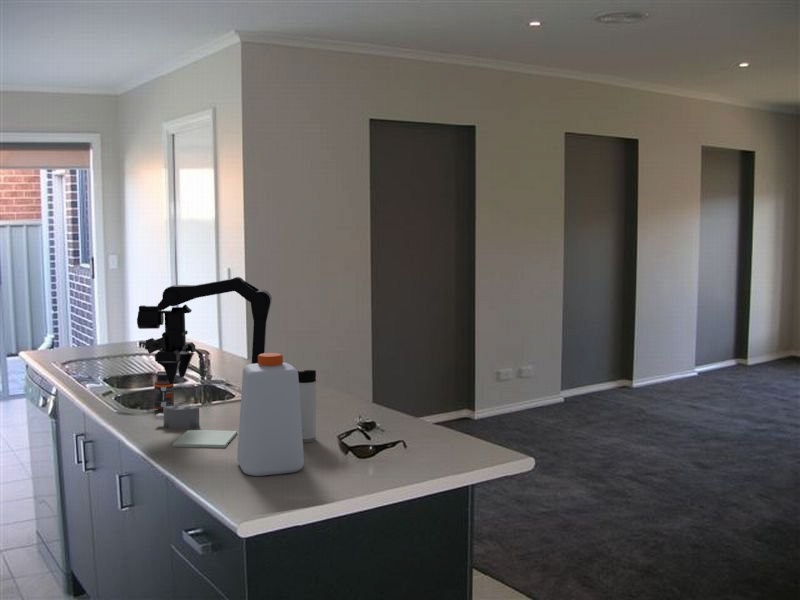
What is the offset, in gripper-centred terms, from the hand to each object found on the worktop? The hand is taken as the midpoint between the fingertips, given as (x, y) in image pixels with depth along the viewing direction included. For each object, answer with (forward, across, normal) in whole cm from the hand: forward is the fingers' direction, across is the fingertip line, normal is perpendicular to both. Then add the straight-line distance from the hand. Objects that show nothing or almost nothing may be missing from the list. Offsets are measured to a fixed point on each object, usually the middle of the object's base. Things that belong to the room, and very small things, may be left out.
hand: (176, 380), depth 231 cm
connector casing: (+13, +3, +2) cm, 13 cm away
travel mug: (+14, +14, +40) cm, 45 cm away
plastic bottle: (+14, +38, +36) cm, 54 cm away
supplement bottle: (+13, -18, -11) cm, 25 cm away
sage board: (+13, +17, +13) cm, 25 cm away
